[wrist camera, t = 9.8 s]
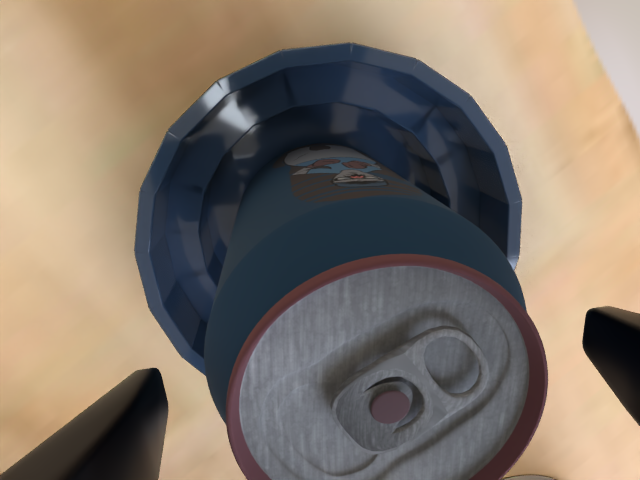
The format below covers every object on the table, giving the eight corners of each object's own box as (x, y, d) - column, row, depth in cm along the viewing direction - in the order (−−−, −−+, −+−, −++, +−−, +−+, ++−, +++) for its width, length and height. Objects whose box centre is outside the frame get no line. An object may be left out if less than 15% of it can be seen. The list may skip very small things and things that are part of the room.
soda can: (300, 321, 20) (337, 608, 9) (203, 204, 18) (93, 390, 7) (425, 237, 20) (636, 433, 8) (341, 104, 17) (474, 127, 6)
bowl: (155, 324, 20) (120, 394, 16) (188, 21, 16) (156, -7, 12) (417, 357, 22) (456, 427, 18) (500, 96, 19) (578, 98, 14)
